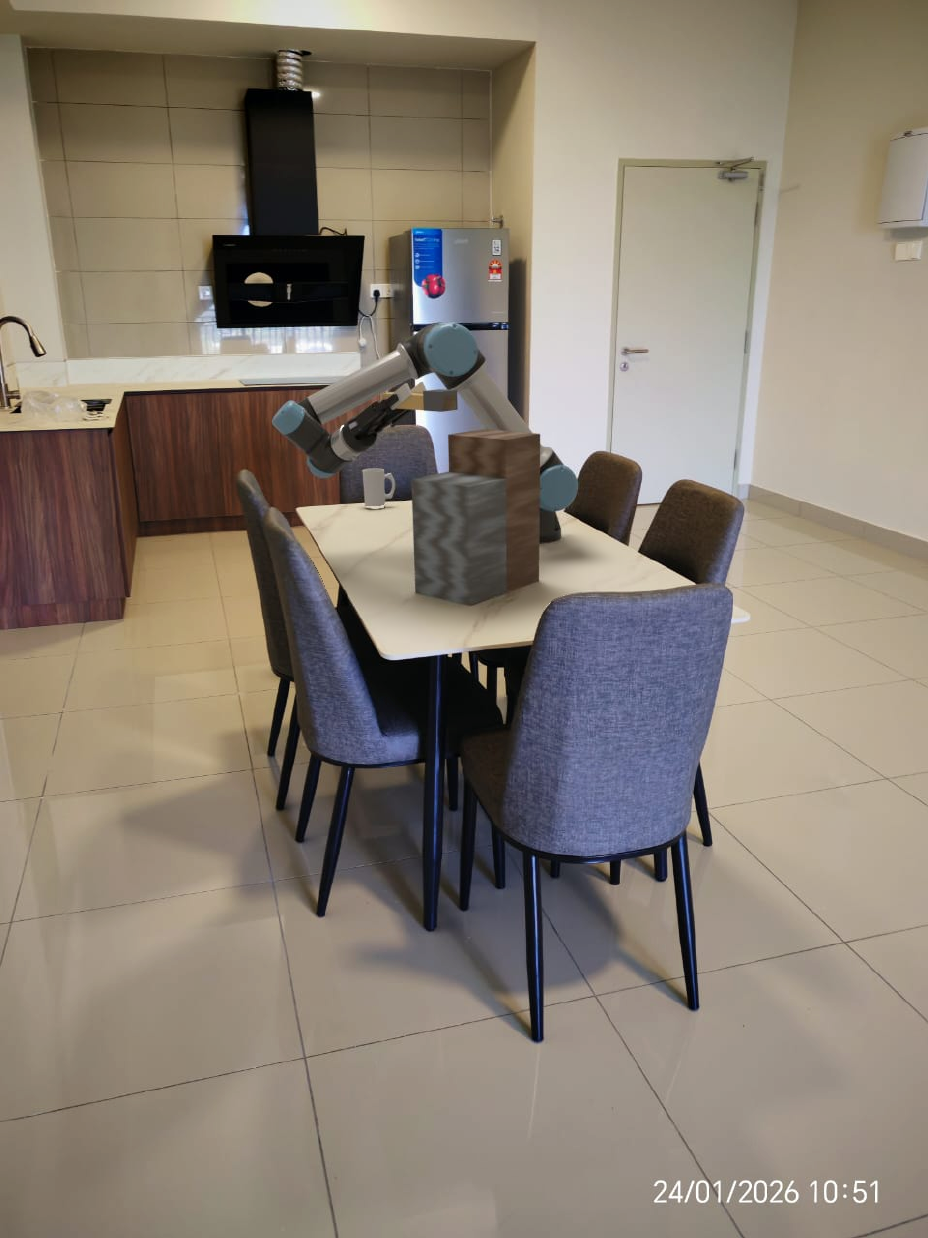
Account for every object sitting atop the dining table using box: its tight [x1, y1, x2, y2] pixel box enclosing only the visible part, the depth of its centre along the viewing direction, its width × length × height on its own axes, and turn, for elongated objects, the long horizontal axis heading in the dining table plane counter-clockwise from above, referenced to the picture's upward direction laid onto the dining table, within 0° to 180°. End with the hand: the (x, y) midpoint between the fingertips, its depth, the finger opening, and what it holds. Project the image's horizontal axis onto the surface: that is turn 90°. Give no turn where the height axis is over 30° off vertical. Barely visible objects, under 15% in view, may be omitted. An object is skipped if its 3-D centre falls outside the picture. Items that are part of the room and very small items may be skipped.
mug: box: [362, 467, 396, 507], centre depth 291 cm, size 10×7×12 cm, turn 95°
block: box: [380, 388, 459, 413], centre depth 196 cm, size 18×5×4 cm, turn 49°
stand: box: [410, 428, 541, 607], centre depth 202 cm, size 16×24×33 cm, turn 139°
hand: (416, 388), depth 195 cm, fingers closed on block, 4 cm apart
